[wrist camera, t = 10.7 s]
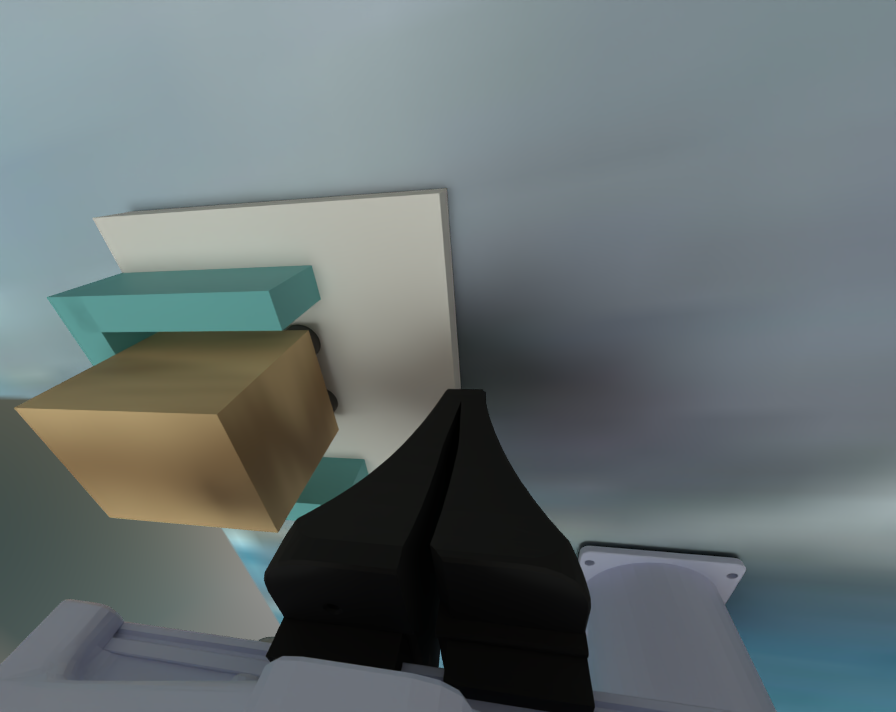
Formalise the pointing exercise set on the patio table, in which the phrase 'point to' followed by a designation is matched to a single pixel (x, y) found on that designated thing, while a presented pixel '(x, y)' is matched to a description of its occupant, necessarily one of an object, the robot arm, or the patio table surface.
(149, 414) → the cardboard box
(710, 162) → the patio table surface
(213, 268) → the dock
